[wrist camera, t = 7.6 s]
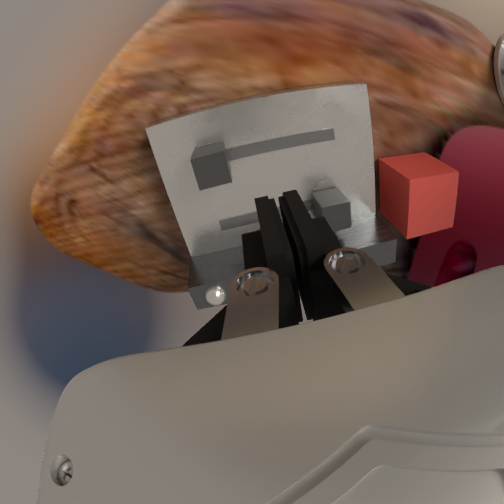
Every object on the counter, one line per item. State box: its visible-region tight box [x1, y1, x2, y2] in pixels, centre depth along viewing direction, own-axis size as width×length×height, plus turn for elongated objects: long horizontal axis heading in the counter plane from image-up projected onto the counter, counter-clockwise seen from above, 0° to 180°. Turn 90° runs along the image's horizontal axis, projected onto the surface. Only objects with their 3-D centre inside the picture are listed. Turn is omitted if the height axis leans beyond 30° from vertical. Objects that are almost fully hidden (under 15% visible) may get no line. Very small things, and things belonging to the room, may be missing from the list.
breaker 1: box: [190, 142, 232, 190], centre depth 21 cm, size 2×2×3 cm
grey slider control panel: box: [146, 82, 397, 309], centre depth 23 cm, size 18×15×8 cm
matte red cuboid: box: [378, 152, 459, 239], centre depth 26 cm, size 6×6×6 cm
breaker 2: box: [312, 188, 352, 232], centre depth 24 cm, size 2×2×3 cm
